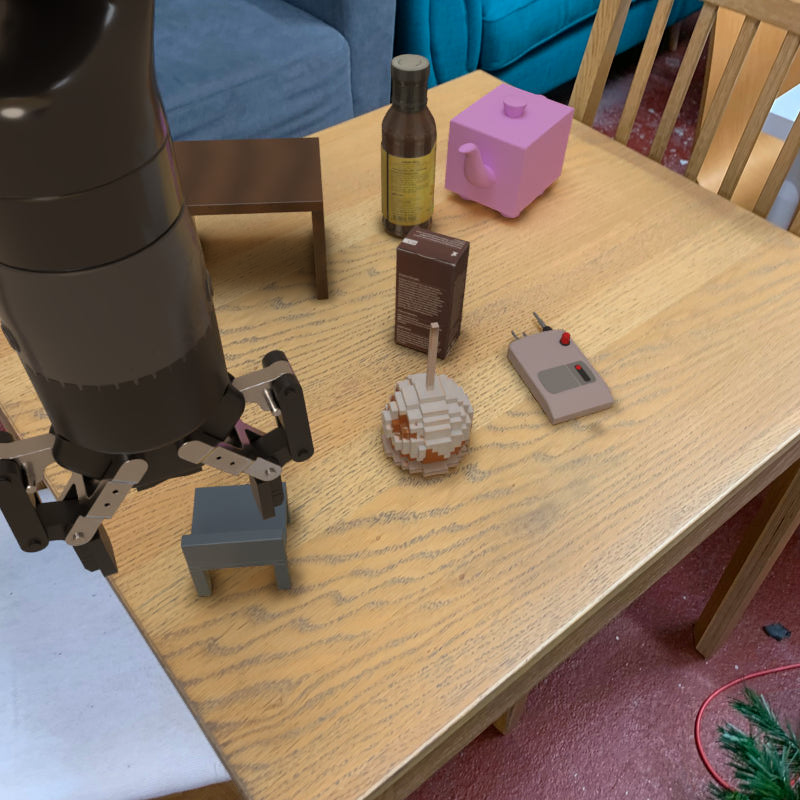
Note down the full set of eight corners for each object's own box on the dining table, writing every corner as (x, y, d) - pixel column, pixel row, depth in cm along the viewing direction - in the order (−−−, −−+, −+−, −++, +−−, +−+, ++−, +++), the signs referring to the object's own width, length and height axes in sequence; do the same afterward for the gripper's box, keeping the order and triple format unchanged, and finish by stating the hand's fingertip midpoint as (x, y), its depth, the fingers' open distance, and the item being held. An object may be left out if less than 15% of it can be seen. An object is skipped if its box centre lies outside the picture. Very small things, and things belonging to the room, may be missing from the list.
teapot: (501, 152, 105) (514, 61, 95) (567, 177, 101) (587, 85, 92) (417, 219, 94) (423, 124, 84) (487, 251, 90) (501, 154, 81)
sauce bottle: (442, 228, 93) (456, 66, 78) (402, 247, 90) (408, 82, 75) (409, 203, 96) (416, 43, 81) (369, 221, 93) (369, 58, 78)
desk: (179, 305, 82) (154, 206, 73) (188, 238, 90) (167, 140, 81) (328, 298, 84) (323, 200, 74) (324, 232, 91) (318, 136, 82)
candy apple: (374, 419, 72) (375, 299, 61) (453, 407, 74) (468, 286, 62) (392, 485, 67) (397, 367, 56) (477, 471, 69) (497, 352, 57)
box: (461, 333, 80) (472, 240, 71) (444, 361, 78) (454, 267, 69) (409, 316, 82) (413, 223, 73) (391, 342, 79) (393, 249, 70)
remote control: (562, 439, 71) (568, 418, 69) (488, 331, 81) (492, 309, 79) (622, 420, 73) (630, 400, 71) (543, 316, 83) (548, 295, 80)
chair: (198, 596, 60) (180, 546, 54) (204, 518, 65) (188, 465, 59) (290, 589, 60) (282, 538, 55) (290, 512, 65) (282, 459, 60)
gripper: (260, 214, 34) (290, 442, 46) (-94, 296, 30) (41, 524, 42) (321, 320, 29) (336, 542, 41) (-87, 435, 25) (63, 644, 37)
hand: (188, 533), depth 41 cm, fingers open, 8 cm apart
